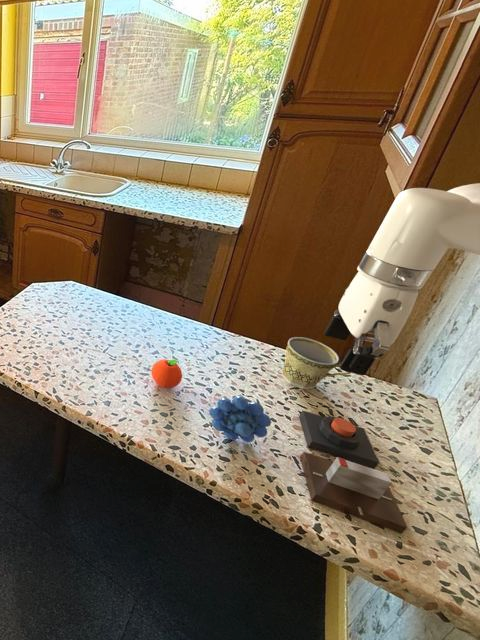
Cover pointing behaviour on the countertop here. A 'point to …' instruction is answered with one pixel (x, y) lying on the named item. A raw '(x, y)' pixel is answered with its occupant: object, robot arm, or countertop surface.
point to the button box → (337, 440)
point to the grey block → (358, 478)
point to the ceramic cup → (308, 362)
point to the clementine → (166, 373)
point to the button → (343, 427)
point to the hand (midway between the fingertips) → (342, 353)
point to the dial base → (350, 496)
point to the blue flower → (240, 419)
